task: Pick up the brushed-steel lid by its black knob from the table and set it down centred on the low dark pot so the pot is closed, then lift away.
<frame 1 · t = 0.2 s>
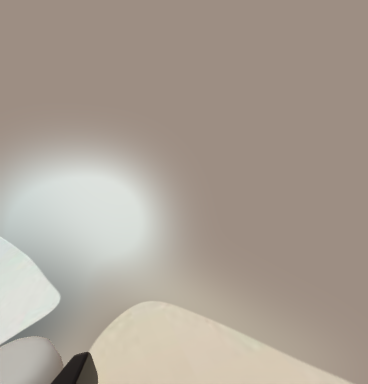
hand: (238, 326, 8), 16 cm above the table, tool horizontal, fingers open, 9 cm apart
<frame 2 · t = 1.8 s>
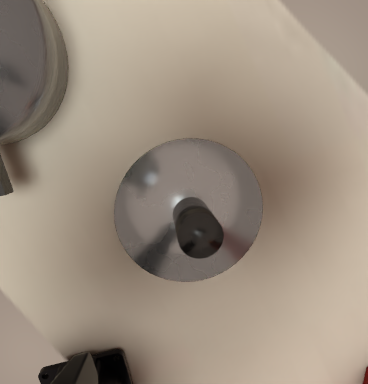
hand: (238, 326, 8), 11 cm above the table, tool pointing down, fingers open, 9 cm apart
lid: (189, 211, 19), on the table
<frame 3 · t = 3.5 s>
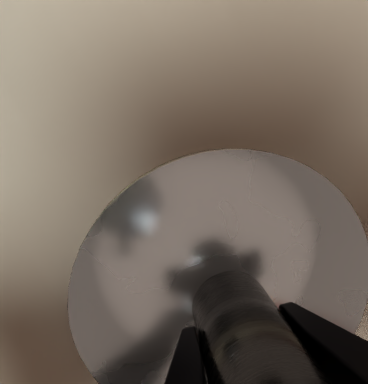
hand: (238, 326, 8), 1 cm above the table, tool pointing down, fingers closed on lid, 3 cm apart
lid: (223, 290, 10), on the table, touching gripper
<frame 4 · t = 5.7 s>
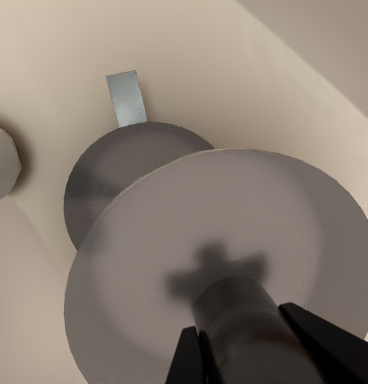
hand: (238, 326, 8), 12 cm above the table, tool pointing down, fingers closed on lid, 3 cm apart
pot: (154, 195, 19), on the table
lid: (226, 296, 9), point 10 cm above the table, touching gripper
when the fingers open (6 cm above the table, at t = 7.8 s): lid stays where it is, resting on pot.
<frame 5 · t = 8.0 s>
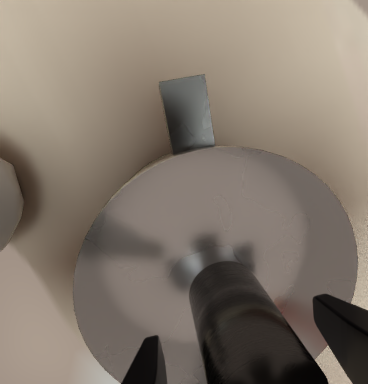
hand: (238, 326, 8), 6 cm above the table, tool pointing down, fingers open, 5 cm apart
pot: (200, 240, 14), on the table
lid: (218, 280, 10), point 4 cm above the table, touching pot
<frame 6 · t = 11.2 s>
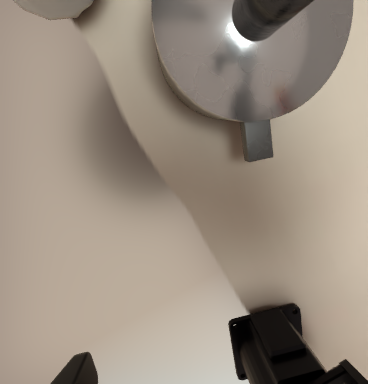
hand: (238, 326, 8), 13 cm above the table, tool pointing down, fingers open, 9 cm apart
pot: (229, 44, 18), on the table
lid: (250, 19, 14), point 4 cm above the table, touching pot
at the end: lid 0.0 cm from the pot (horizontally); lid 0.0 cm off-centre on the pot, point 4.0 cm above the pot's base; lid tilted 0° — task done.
